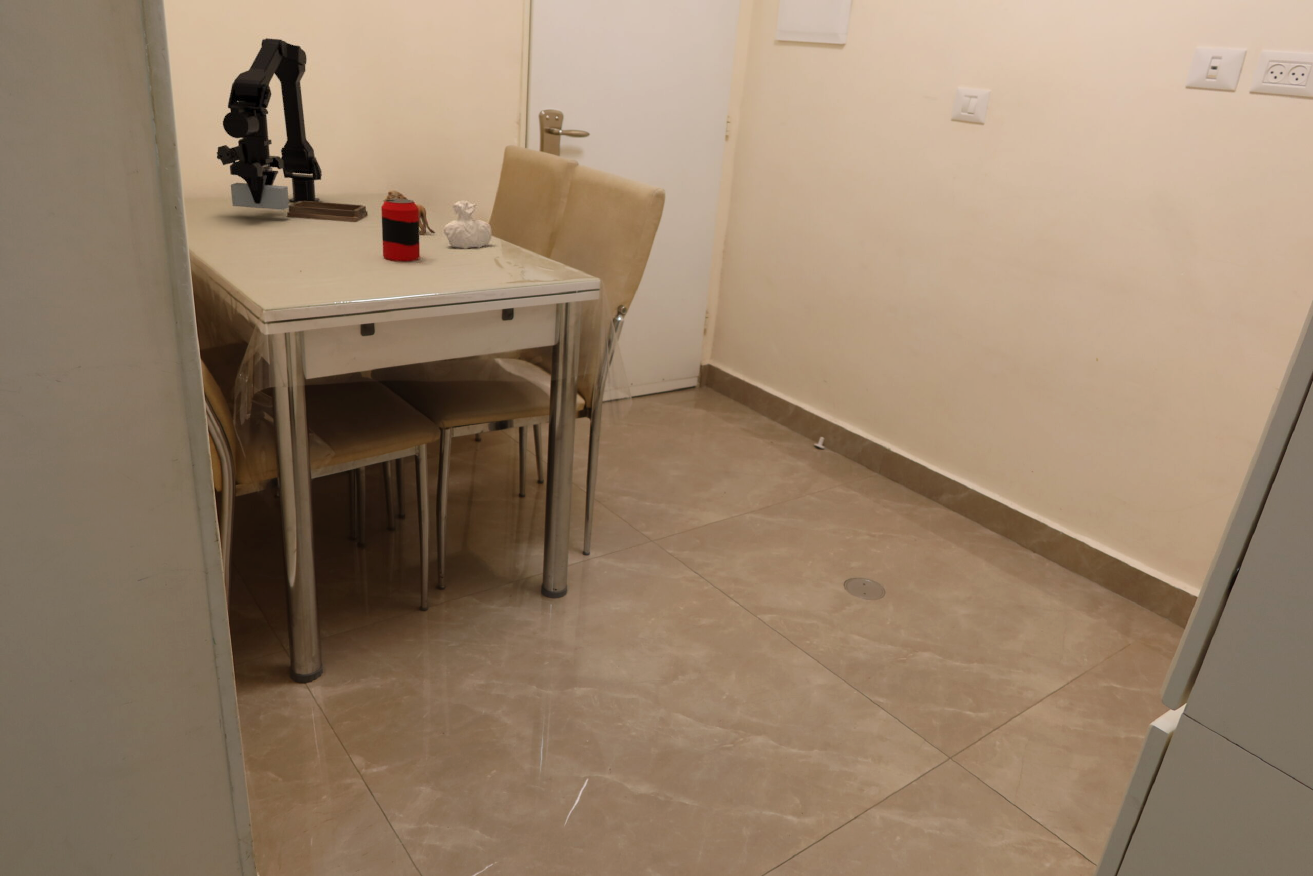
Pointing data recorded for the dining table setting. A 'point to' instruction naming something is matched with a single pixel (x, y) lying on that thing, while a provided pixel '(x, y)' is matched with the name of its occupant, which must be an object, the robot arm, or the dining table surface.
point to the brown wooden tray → (327, 211)
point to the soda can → (400, 230)
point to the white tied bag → (467, 228)
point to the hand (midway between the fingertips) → (260, 202)
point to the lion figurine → (421, 211)
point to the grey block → (270, 198)
